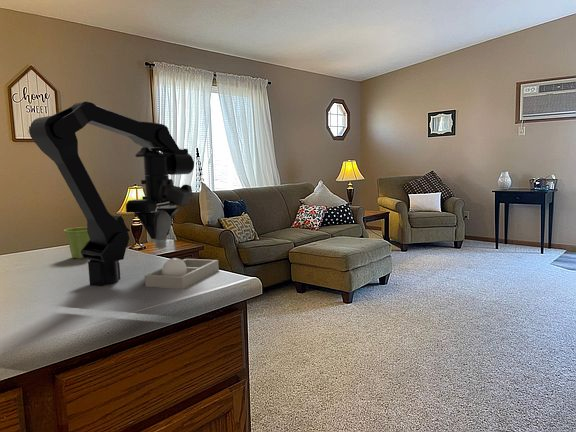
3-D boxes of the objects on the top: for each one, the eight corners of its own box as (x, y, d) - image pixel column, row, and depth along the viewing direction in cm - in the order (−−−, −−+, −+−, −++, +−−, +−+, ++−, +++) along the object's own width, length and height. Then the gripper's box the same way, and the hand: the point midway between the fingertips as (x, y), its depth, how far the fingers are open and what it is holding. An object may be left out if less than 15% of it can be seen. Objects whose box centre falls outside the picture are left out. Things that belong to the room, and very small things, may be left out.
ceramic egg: (179, 285, 95) (178, 261, 94) (157, 284, 97) (156, 260, 96) (191, 279, 100) (190, 256, 99) (171, 278, 102) (169, 255, 101)
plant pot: (66, 255, 136) (64, 228, 135) (99, 252, 140) (97, 225, 139) (65, 261, 128) (63, 232, 127) (100, 257, 132) (98, 229, 131)
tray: (183, 293, 93) (182, 277, 92) (145, 290, 95) (144, 275, 95) (218, 273, 109) (218, 260, 109) (186, 271, 112) (185, 258, 112)
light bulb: (176, 246, 115) (174, 208, 114) (167, 251, 109) (165, 211, 108) (154, 246, 115) (152, 208, 114) (144, 251, 109) (142, 211, 108)
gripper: (164, 176, 99) (168, 244, 101) (203, 174, 117) (205, 232, 118) (122, 177, 102) (126, 243, 104) (166, 174, 120) (169, 231, 122)
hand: (160, 236), depth 112 cm, fingers closed on light bulb, 5 cm apart
